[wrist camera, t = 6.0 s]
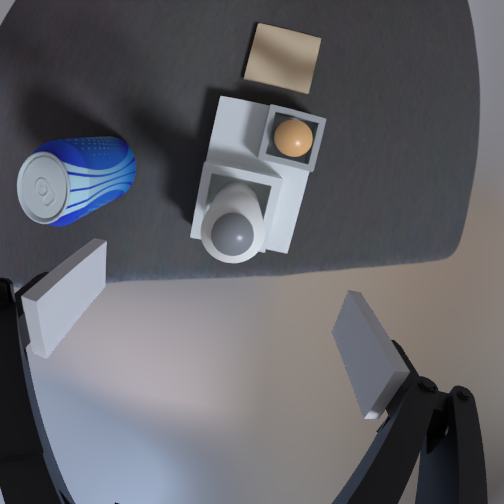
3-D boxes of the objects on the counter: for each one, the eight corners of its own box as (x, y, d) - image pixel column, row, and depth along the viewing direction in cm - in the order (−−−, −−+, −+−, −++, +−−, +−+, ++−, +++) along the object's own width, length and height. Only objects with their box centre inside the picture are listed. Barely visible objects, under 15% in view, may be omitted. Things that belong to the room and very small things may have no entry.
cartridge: (219, 177, 35) (204, 197, 22) (261, 185, 36) (272, 209, 22) (212, 218, 37) (194, 260, 24) (253, 225, 37) (258, 271, 24)
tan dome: (276, 117, 32) (279, 115, 30) (310, 126, 33) (316, 125, 30) (269, 150, 34) (270, 151, 31) (302, 158, 34) (307, 160, 31)
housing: (222, 98, 34) (217, 91, 29) (317, 120, 35) (329, 117, 30) (195, 227, 40) (187, 243, 34) (285, 246, 41) (290, 264, 35)
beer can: (83, 194, 38) (12, 228, 23) (87, 135, 35) (11, 142, 20) (136, 200, 39) (77, 239, 24) (143, 137, 36) (80, 141, 21)
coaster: (258, 24, 31) (258, 23, 30) (320, 40, 31) (321, 38, 31) (243, 79, 33) (243, 78, 33) (307, 94, 34) (308, 93, 33)
